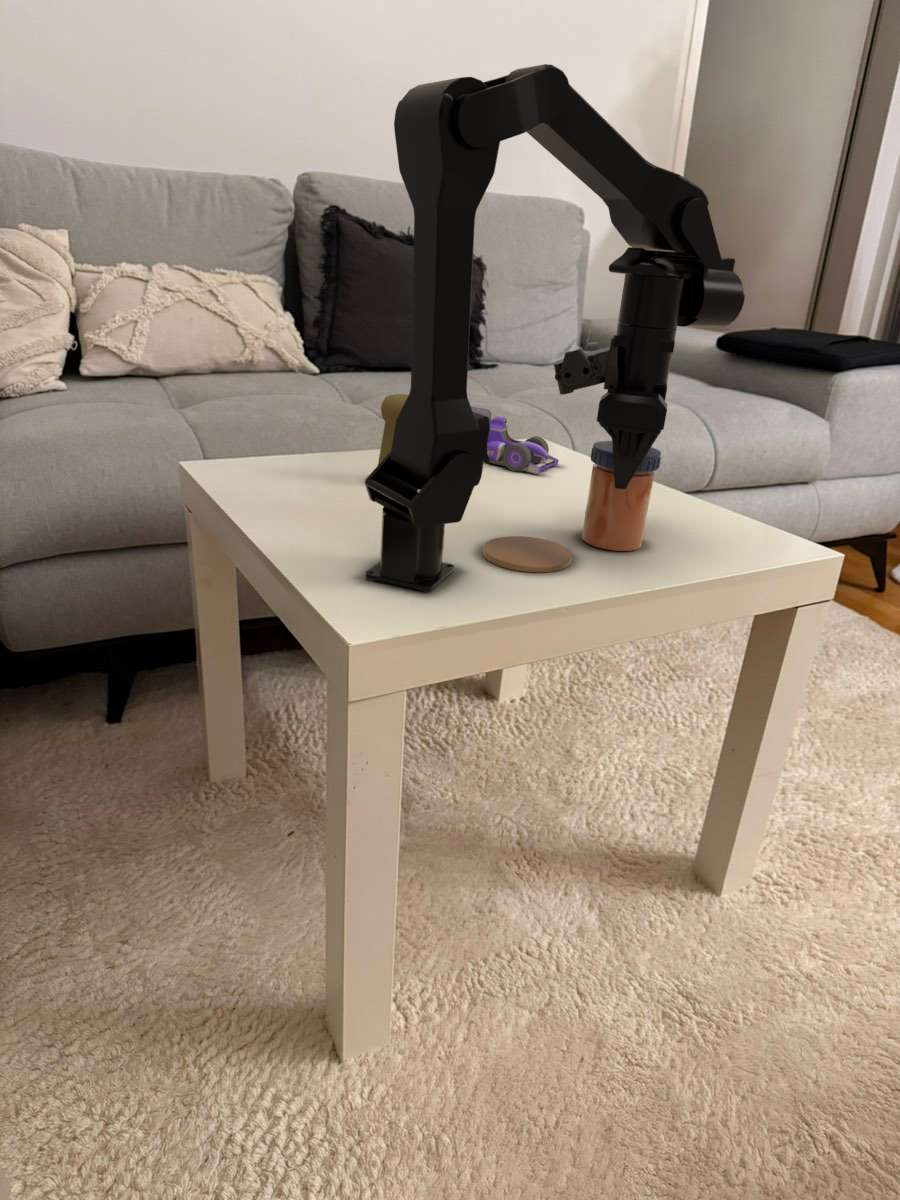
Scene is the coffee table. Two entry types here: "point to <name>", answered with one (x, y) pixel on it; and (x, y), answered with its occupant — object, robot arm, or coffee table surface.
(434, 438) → the robot arm
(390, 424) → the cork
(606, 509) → the jar
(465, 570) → the coffee table surface
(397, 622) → the coffee table surface
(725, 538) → the coffee table surface
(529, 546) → the coaster
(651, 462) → the jar lid
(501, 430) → the toy race car
